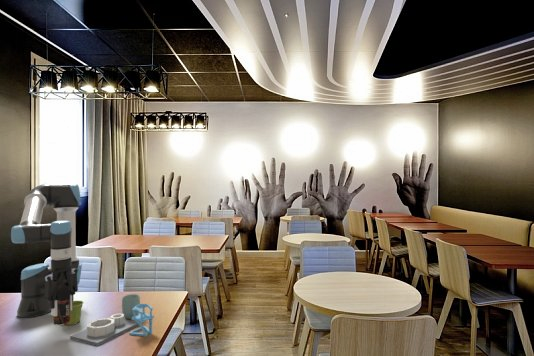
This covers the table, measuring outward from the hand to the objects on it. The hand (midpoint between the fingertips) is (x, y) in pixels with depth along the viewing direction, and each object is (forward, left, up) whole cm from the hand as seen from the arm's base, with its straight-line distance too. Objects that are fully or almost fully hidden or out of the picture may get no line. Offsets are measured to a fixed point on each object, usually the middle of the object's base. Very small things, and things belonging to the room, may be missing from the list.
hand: (61, 312), depth 149 cm
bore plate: (+14, +11, -10) cm, 20 cm away
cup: (+12, +27, -10) cm, 31 cm away
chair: (+30, +16, -10) cm, 35 cm away
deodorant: (0, 0, -4) cm, 4 cm away
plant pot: (-9, +12, -10) cm, 18 cm away
